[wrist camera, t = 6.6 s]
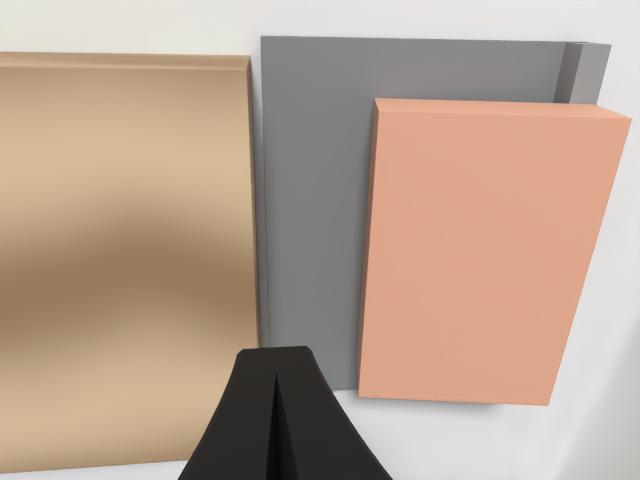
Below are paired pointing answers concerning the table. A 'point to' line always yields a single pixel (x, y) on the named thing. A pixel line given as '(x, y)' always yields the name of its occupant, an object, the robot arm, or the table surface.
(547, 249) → the block
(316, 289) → the mat
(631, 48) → the table surface
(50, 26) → the table surface
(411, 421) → the table surface
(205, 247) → the deck
